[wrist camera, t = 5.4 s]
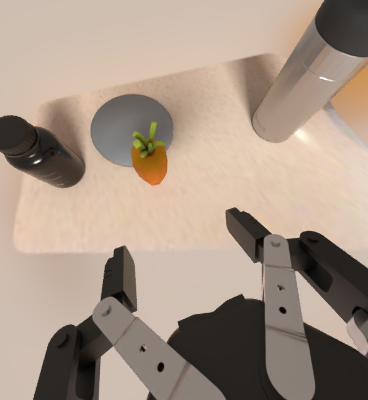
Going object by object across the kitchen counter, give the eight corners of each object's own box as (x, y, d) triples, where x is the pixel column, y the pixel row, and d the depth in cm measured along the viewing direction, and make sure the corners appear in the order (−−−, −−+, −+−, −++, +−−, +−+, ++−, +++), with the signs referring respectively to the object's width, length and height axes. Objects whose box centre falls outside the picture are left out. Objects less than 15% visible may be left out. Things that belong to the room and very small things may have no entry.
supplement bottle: (48, 156, 33) (-20, 108, 21) (86, 154, 33) (40, 105, 22) (46, 191, 31) (-30, 159, 19) (85, 187, 32) (35, 154, 20)
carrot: (159, 165, 34) (150, 105, 19) (173, 185, 33) (175, 138, 18) (137, 178, 33) (110, 125, 18) (151, 199, 32) (133, 161, 17)
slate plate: (159, 91, 38) (159, 87, 37) (183, 154, 35) (183, 151, 34) (85, 108, 36) (82, 104, 35) (103, 177, 32) (100, 174, 31)
